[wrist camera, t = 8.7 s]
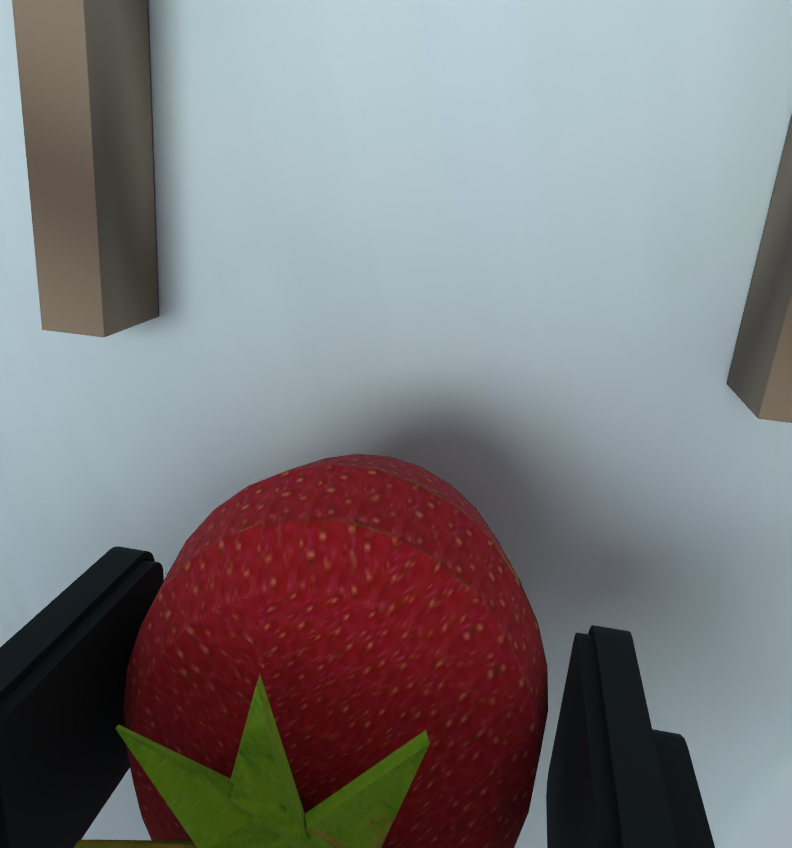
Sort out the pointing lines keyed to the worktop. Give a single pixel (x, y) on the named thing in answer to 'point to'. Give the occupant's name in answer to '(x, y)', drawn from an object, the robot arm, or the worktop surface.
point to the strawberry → (337, 672)
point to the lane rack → (135, 206)
